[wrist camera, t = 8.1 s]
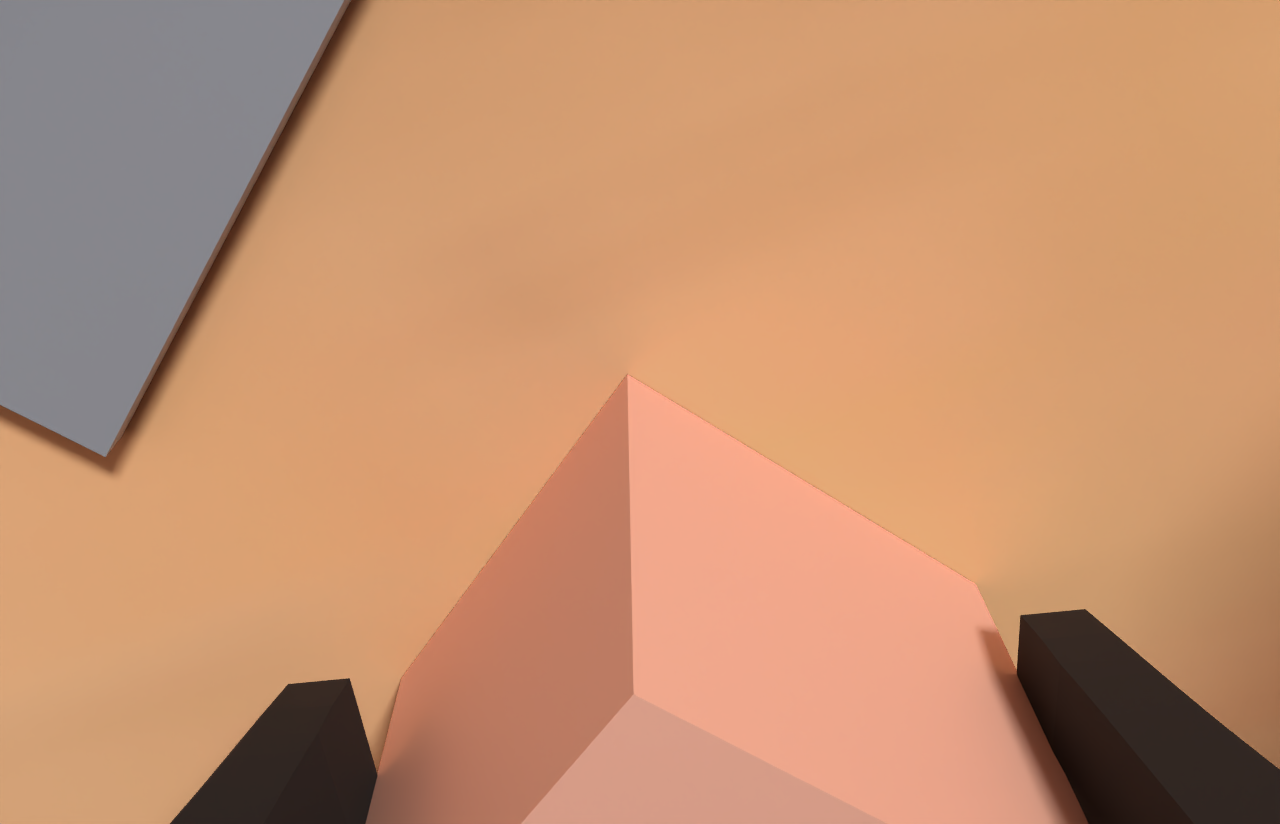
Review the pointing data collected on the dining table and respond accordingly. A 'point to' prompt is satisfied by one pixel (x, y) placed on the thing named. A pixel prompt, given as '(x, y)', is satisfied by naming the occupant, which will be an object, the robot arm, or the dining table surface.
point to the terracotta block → (711, 659)
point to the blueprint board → (128, 182)
